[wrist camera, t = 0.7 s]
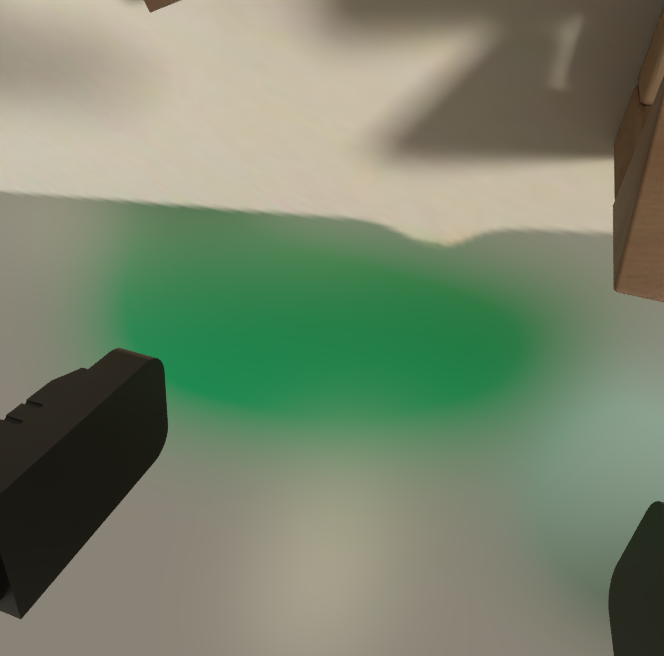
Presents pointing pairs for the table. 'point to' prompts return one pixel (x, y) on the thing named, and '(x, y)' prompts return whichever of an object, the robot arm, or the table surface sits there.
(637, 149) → the wooden toy block structure
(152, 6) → the slotted plate
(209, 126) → the table surface
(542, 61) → the table surface
